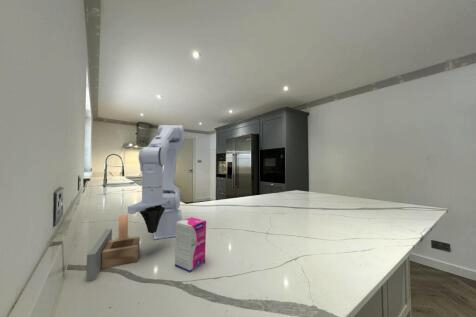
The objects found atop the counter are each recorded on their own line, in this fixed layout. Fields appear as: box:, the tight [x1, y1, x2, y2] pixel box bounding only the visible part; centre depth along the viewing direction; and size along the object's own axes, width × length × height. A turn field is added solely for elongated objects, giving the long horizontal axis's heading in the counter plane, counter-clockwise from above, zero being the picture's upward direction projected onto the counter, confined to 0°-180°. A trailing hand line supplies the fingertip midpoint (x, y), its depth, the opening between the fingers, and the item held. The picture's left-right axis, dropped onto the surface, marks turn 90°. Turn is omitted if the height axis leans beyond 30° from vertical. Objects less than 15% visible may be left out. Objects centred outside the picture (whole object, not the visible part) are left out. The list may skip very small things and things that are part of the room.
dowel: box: [117, 214, 129, 239], centre depth 67 cm, size 3×3×8 cm
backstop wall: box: [85, 228, 113, 282], centre depth 51 cm, size 2×18×6 cm, turn 24°
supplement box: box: [174, 217, 207, 273], centre depth 50 cm, size 6×6×12 cm
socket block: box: [101, 236, 141, 269], centre depth 53 cm, size 8×8×4 cm
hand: (152, 232), depth 56 cm, fingers closed
